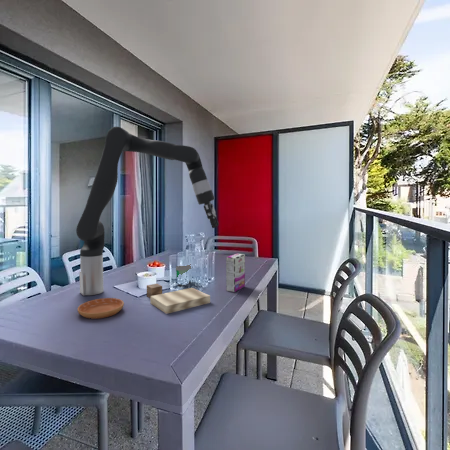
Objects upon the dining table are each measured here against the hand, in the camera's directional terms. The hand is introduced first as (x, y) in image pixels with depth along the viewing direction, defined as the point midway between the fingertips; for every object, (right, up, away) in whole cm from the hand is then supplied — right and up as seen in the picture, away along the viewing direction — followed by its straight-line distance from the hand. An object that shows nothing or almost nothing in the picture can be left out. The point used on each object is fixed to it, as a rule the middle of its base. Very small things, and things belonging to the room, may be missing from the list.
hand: (215, 226), depth 127 cm
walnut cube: (-27, -31, -1) cm, 41 cm away
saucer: (-43, -32, -19) cm, 57 cm away
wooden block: (-14, -32, -9) cm, 36 cm away
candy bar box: (+9, -30, +12) cm, 34 cm away
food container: (-16, -29, +21) cm, 39 cm away
